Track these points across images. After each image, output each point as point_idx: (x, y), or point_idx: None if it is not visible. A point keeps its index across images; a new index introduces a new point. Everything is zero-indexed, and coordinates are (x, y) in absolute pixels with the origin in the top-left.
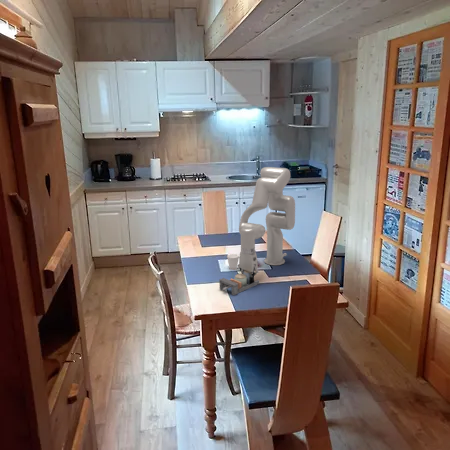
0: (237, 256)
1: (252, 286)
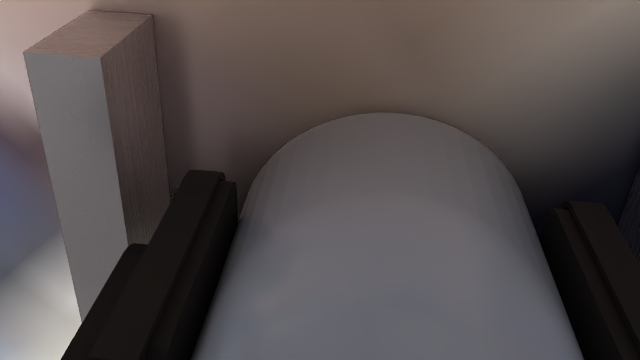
0: None
1: None
